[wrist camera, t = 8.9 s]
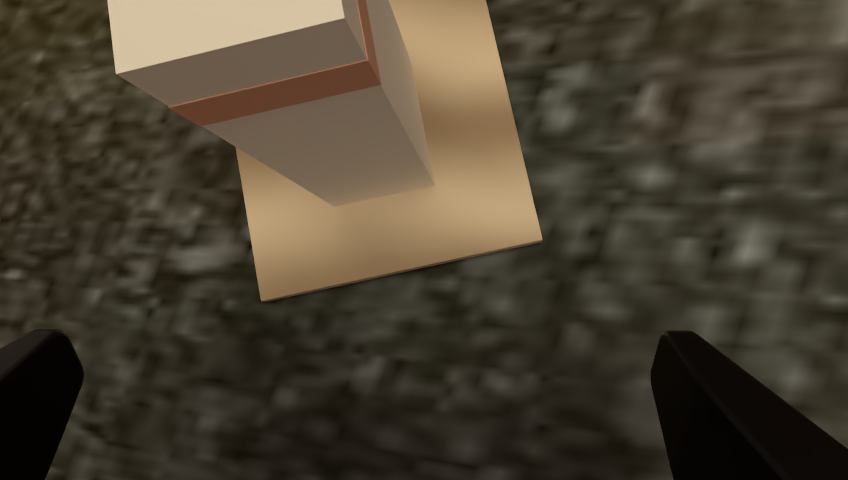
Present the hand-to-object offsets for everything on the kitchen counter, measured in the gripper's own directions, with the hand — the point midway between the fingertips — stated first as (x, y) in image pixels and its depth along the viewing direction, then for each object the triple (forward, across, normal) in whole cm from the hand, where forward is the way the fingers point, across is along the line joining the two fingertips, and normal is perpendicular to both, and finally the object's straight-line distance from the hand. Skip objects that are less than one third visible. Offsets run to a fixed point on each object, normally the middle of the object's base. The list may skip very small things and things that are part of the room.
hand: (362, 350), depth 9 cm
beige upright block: (+15, +1, +3) cm, 15 cm away
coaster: (+15, +1, +3) cm, 16 cm away
